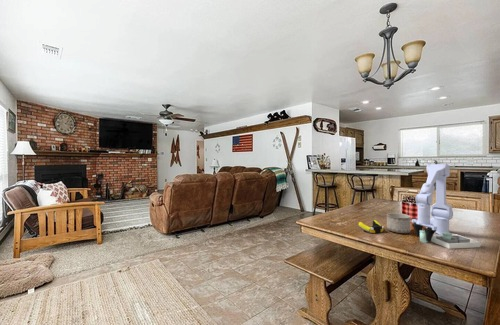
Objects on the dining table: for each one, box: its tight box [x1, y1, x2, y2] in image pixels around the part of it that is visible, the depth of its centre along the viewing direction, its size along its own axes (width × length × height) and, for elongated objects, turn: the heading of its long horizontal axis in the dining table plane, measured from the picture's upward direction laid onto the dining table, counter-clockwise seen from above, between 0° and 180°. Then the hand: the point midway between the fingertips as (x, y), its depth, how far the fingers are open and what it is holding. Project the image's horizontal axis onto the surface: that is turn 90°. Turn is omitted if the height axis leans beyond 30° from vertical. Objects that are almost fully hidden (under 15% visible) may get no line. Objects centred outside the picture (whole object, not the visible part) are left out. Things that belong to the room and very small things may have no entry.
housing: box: [430, 232, 482, 250], centre depth 124 cm, size 18×13×6 cm
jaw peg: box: [419, 229, 429, 244], centre depth 127 cm, size 4×4×6 cm
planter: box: [386, 212, 411, 234], centre depth 145 cm, size 13×13×10 cm
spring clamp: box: [358, 220, 385, 234], centre depth 147 cm, size 15×6×10 cm
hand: (423, 238), depth 127 cm, fingers open, 6 cm apart
